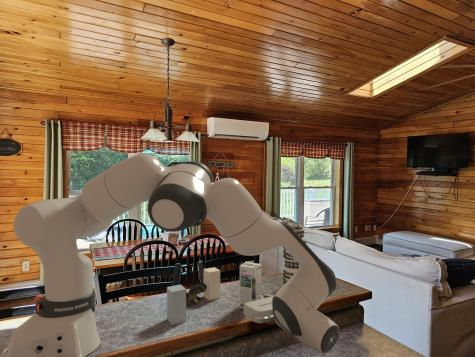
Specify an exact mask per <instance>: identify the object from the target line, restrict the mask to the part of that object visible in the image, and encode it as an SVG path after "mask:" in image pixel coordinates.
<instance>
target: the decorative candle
mask: <svg viewBox="0 0 475 357" xmlns="http://www.w3.org/2000/svg"><path fill="white" fill-rule="evenodd" d="M287 224H288V223H287ZM288 225H289V226H290V227H291V228H292V229H293V230H294V231H295V232H296V233H297V234H298V235H299V236H300V238H301V239H302V240H303V241H304V242H305V243H306V244H307V241H306V237H305V230H306V228H304V227H303V225H302V224H299V223H289V224H288ZM282 249H283V250H282V253H283V254H282V257H283V260H284V265H283V270H282V272H283V274H282V275H283V278H282V281H283V282H282V286H283V285H284V284H286V283H287V282H288V280H289V279H290V278H291V277H292V276H293V275H294V274H295V273H296V272H297V270H298V268H299V263H298V262H297V261H296V260H295V258H294V257H293V256H292V255H291V254H290V253H289V252H288V251H287V250H286V249H285V248H284V247H283V246H282Z"/></svg>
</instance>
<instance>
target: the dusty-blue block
mask: <svg viewBox="0 0 475 357" xmlns="http://www.w3.org/2000/svg"><path fill="white" fill-rule="evenodd" d="M186 292H187V289H186V288H185V287H184V286H183V285H182V284H177V285H172V286H171V285H170V286H166V319H167V321H168V322H169V324H170V325H171V326H174V325H178V324H181V323H185V322H187V307H186Z"/></svg>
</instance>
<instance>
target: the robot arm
mask: <svg viewBox="0 0 475 357" xmlns="http://www.w3.org/2000/svg"><path fill="white" fill-rule="evenodd" d="M145 202H147V210H146V211H147V215H148V217H149V219H150V221H151V223H152V224H153V225H154V226H155V227H157V228H158V229H161V230H162V231H165V232H169V233H174V232H175V233H176V232H181V231H183V230H186V229H189V228H191V227H199V226H201V225H202V224H203V223H204V222H205V220H208V221H210V222H211V223H213V225H214V227H215V228H216V229H217V231H218V232H219V234H220V235H221V237H222V238H223V240H224V241H225V242H226V244H227V245H228V246H229V247H230V248H231V249H232V251H234V252H235V253H236V254H238V255H242V256H248V257H250V256H252V257H254V256H259V255H262V254H266V253H267V252H270V251H272V250H274V249H279V248H281V247H282V248H283V247H284V248H285V249H286V250H287V251H288V252H289V253H290V254H291V255H292V256H293V257H294V258H295V260H296V261H297V262H298V263H299V268H298V270H297V272H296V273H295V274H294V275H293V276H292V277H291V278H290V279H289V280H288V282H287V283H286V284H284V285H283V284H282V287H280V288H279V290H278V291H277V292H275V294H274V295H273V294H268V293H263V294H262V293H261V295H258V300H255V301H251V302H246V303H245V304H244V309H243V315H244V317H246V318H247V319H249V320H250V321H252V322H254V323H257V324H264V323H265V324H266V323H269V322H271V321H274V323H275V324H276V325H277V326H278V327H279V328H281V329H283V330H284V331H285V332H286V333H288V334H289V335H292V336H294V337H295V338H296V339H297V341H299V342H300V343H302V344H303V345H305V346H307V347H308V348H310V349H312V350H313V351H317V352H318V353H321V354H327V353H329V352H330V351H331V350H332V349H333V348H334V347H335V346H336V344H337V342H338V340H339V337H340V327H339V325H338V324H337V323H335V321H333V320H331V318H329V317H328V316H326V315H325V314H324V313H322V312H320V310H319V311H318V308H319V307H320V306H321V305H322V304H323V303H324V302H325V300H326V299H328V298H329V297H330V296H331V295H332V294H333V293H334V292H335V291H336V290H337V279H336V274H335V272H334V271H333V269H332V268H330V267H329V265H328V264H326V263H325V262H324V261H323V260H322V259H321V258H320V257H319V256H318V255H317V254H316V253H315V252H314V251H313V250H312V249H311V248H310V246H308V244H307V242H306V243H305V242H304V241H303V240H302V239H301V238H300V236H299V235H298V234H297V233H296V232H295V231H294V230H293V229H292V228H291V227H290V226H289V225H288V223H286V221H284V220H283V219H280V218H278V217H273V218H271V217H270V216H268V215H267V214H266V213H264V210H262V209H261V207H260V205H259V204H258V202H257V201H256V200H255V198H254V197H253V195H252V194H251V193H250V192H249V191H248V189H247V188H246V187H245V186H244V185H243V184H242V183H241V182H240V181H239V180H238V179H236V178H233V177H224V178H221V179H218V180H216V181H214V177H213V174H212V171H211V170H210V168H209V166H207V165H206V164H204V163H202V162H200V161H196V160H188V161H172V162H170V163H169V164H168V165H167V166H165V165H164V164H162V162H161V161H160V160H159V159H158V158H157V157H156V156H154V155H152V154H150V153H139V154H135V155H133V156H130V157H128V158H125V159H124V160H121V161H119V162H117V163H115V164H113V165H111V166H110V167H108V168H107V169H105V170H104V171H103V172H101V173H98V174H97V175H96V176H94V177H93V178H91V179H90V180H87V181H86V182H85V184H84V185H83V187H82V193H81V194H79V195H76V196H70V197H64V198H63V197H61V198H53V199H51V198H50V199H43V200H42V199H41V200H39V201H36V202H33V203H29V204H27V205H24V206H22V207H20V209H19V210H18V211H17V213H16V214H15V217H14V219H13V231H14V234H15V237H16V238H17V239H18V241H19V242H21V243H22V244H23V245H25V246H27V247H28V248H30V249H32V250H33V251H34V252H35V254H36V255H37V256H38V257H39V259H40V262H41V265H42V268H43V275H44V276H43V277H44V293H45V294H44V295H42V294H37V295H36V296H35V297H34V300H33V303H34V304H35V313H34V314H33V315H31V317H29V318H28V319H26V321H24V322H23V323H22V324H21V325H19V326H18V327H17V328H16V329H15V330H14V332H13V333H12V336H11V338H10V340H9V344H8V346H7V347H6V348H4V350H3V351H2V352H1V353H0V357H86V356H87V355H89V354H91V353H92V352H94V351H95V350H97V348H98V347H99V346H100V344H101V338H100V335H99V331H98V329H97V328H98V327H97V322H96V317H95V315H96V314H95V311H96V305H97V304H96V301H97V300H96V298H97V296H96V291H95V288H94V264H93V260H92V259H91V258H90V257H89V256H87V255H86V254H83V253H81V252H80V251H79V247H78V244H77V240H78V239H83V238H87V237H92V236H95V235H97V234H100V233H101V232H103V231H105V230H106V229H108V228H110V226H111V225H112V224H113V221H114V220H115V219H117V218H119V217H120V216H123V215H124V214H125V213H127V212H129V211H131V210H133V209H134V208H136V207H138V206H139V205H140V206H141V204H143V203H145ZM284 248H283V249H284Z"/></svg>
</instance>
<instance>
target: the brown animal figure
mask: <svg viewBox="0 0 475 357" xmlns="http://www.w3.org/2000/svg"><path fill="white" fill-rule="evenodd" d="M206 289H207V286H206V285H205V284H204V283H203V282H197V283H195V284H193V285H192V286H190V288H189V290H188V292H187V291H186V308H187V307H188V306H189V305H190V303H191V301H192V302H195V303H197V305H199V300H198V299H197V298H199V299H202V297H200V296H198V295H200V294H201V293H203V292H205V291H206Z"/></svg>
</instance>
